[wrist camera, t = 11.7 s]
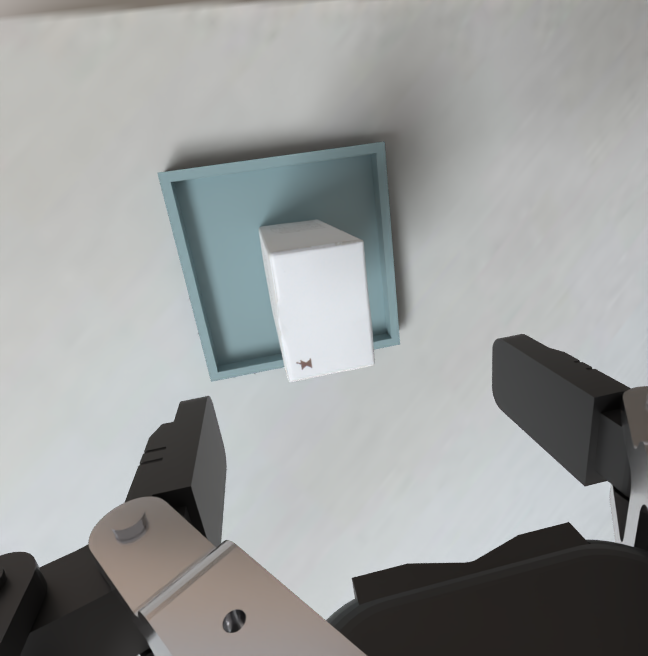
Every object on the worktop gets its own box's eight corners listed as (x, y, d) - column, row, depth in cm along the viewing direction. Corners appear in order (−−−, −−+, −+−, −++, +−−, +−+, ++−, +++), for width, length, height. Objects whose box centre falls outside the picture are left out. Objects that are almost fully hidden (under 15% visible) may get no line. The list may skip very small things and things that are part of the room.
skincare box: (329, 300, 31) (377, 370, 19) (271, 310, 30) (286, 387, 19) (319, 215, 28) (366, 238, 17) (256, 224, 28) (263, 253, 17)
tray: (376, 143, 28) (384, 141, 26) (392, 336, 33) (399, 344, 31) (162, 173, 27) (157, 172, 25) (213, 370, 31) (211, 381, 30)
